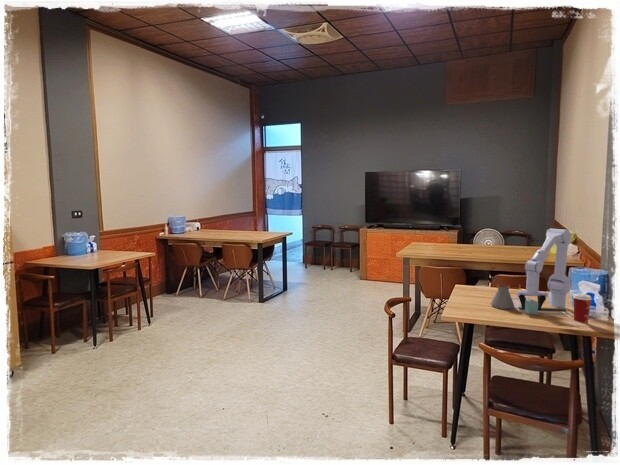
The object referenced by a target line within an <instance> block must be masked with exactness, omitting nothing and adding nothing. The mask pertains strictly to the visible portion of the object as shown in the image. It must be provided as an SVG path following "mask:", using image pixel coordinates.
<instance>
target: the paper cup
mask: <svg viewBox="0 0 620 465" xmlns="http://www.w3.org/2000/svg"><path fill="white" fill-rule="evenodd" d="M572 298H573V316H574V317H573V320H574V321H576V322H577V323H586V324H588V322H589V316H590V310H591V309H590V307H591V303H592V300H593V298H592V296H591V295H589V294H585V293H575V294H574V295H573V297H572Z"/></svg>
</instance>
